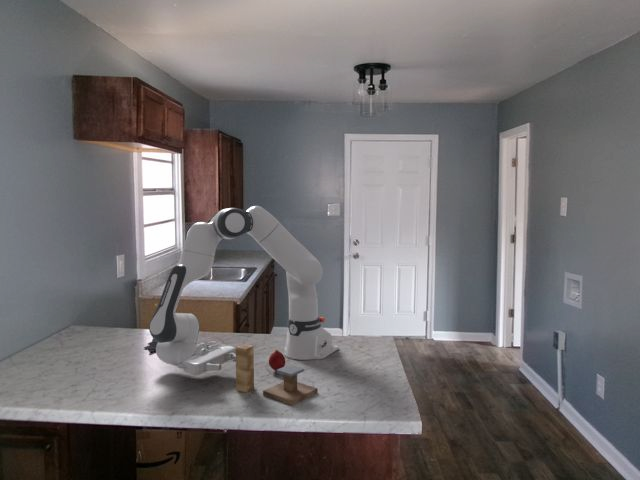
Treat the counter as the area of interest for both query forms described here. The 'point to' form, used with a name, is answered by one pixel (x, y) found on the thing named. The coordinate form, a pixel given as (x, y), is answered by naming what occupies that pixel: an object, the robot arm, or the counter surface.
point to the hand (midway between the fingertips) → (229, 363)
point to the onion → (276, 360)
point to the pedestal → (290, 387)
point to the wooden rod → (244, 367)
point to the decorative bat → (151, 346)
